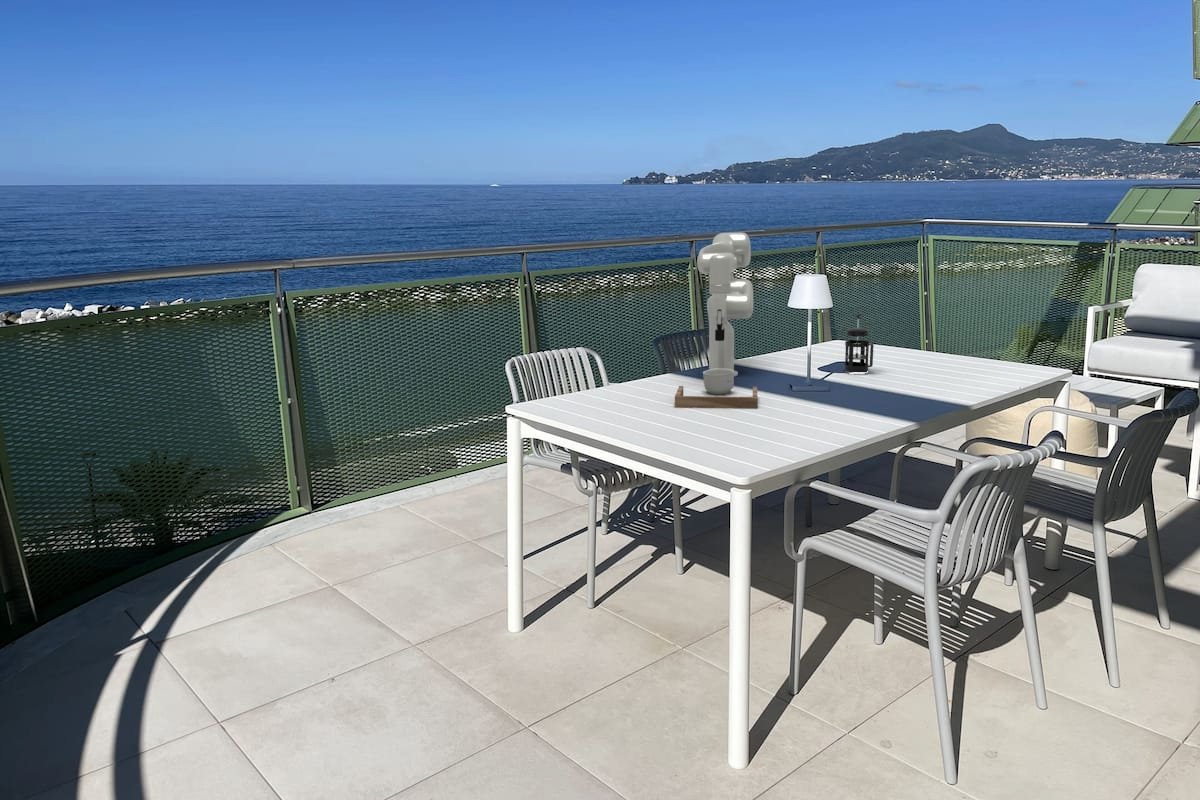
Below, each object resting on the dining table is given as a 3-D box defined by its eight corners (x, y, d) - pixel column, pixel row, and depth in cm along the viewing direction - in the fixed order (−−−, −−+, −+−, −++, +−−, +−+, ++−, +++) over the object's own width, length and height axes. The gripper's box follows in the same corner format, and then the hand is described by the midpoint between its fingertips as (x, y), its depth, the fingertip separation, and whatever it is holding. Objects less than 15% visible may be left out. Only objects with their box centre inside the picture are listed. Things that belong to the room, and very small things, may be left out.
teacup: (732, 396, 299) (733, 374, 298) (701, 396, 302) (701, 373, 300) (734, 388, 313) (735, 366, 311) (704, 387, 315) (704, 366, 313)
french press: (837, 372, 335) (839, 313, 330) (850, 369, 341) (852, 311, 336) (864, 376, 326) (867, 316, 321) (877, 372, 333) (880, 313, 328)
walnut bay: (679, 395, 303) (679, 385, 302) (757, 396, 298) (757, 386, 297) (674, 407, 286) (674, 397, 285) (757, 408, 281) (757, 397, 281)
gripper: (710, 287, 318) (710, 336, 322) (708, 291, 302) (708, 343, 306) (731, 287, 316) (730, 336, 321) (730, 291, 301) (729, 343, 305)
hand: (719, 339), depth 313 cm, fingers open, 2 cm apart
